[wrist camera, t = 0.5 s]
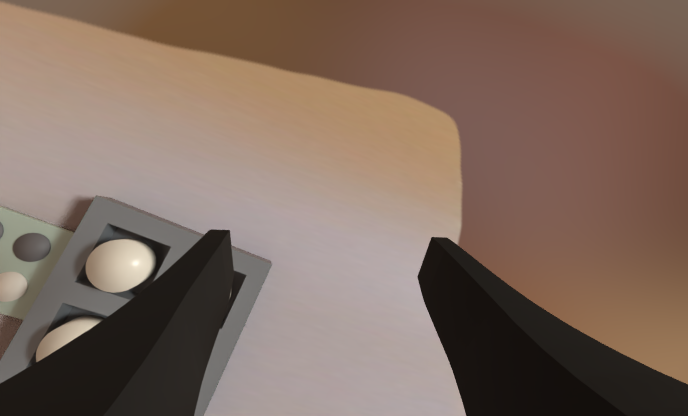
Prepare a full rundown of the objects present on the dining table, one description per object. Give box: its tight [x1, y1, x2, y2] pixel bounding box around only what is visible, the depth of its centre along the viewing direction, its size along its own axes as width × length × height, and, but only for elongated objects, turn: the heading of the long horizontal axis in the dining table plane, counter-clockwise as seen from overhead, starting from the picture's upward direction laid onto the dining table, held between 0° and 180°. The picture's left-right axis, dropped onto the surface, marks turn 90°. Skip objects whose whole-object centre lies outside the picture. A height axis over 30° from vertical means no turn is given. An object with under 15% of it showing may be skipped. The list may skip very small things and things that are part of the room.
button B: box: [36, 315, 105, 362], centre depth 27 cm, size 5×5×3 cm
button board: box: [0, 196, 272, 416], centre depth 30 cm, size 18×18×3 cm
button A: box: [86, 238, 156, 293], centre depth 28 cm, size 5×5×3 cm
